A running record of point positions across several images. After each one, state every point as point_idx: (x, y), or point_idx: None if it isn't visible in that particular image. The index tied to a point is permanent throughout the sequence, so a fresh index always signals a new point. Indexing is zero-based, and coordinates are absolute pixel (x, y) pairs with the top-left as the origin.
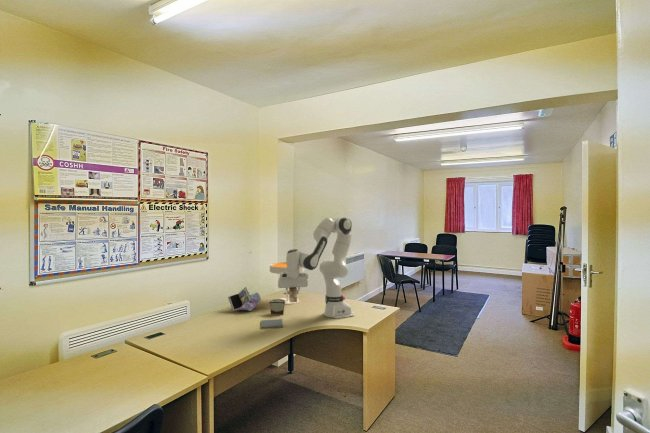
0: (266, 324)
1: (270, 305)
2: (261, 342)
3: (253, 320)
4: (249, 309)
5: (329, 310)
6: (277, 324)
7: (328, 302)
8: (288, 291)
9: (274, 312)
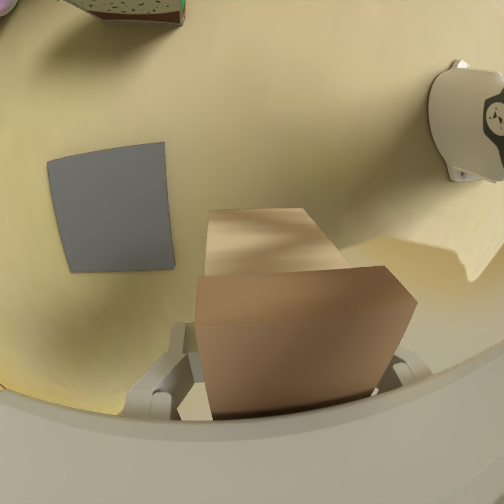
0: (83, 238)
1: (74, 2)
2: (122, 379)
3: (18, 140)
4: (2, 15)
5: (463, 151)
6: (140, 244)
7: (495, 149)
8: (193, 370)
9: (119, 16)
